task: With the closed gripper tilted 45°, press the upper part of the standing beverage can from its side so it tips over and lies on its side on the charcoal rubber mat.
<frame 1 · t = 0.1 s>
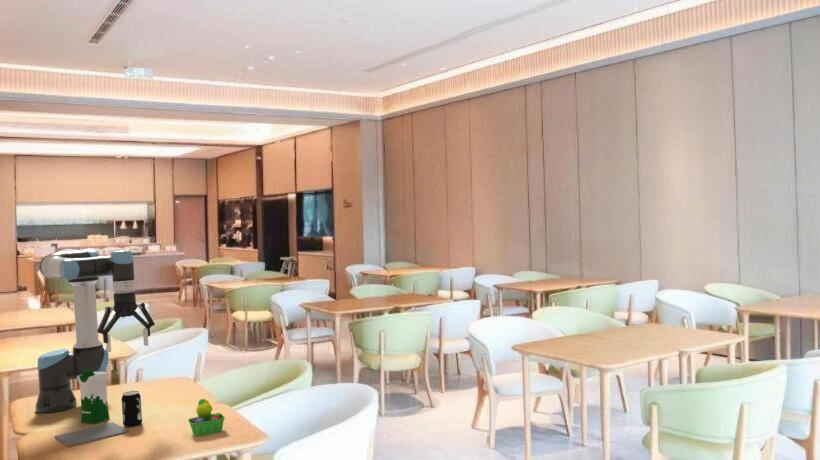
hand: (127, 348, 255), 28 cm above the table, tool pointing down, fingers open, 13 cm apart
fruit basket: (206, 432, 240), on the table
beverage can: (132, 425, 253), on the table
milk carton: (95, 421, 262), on the table
mat: (91, 434, 244), on the table
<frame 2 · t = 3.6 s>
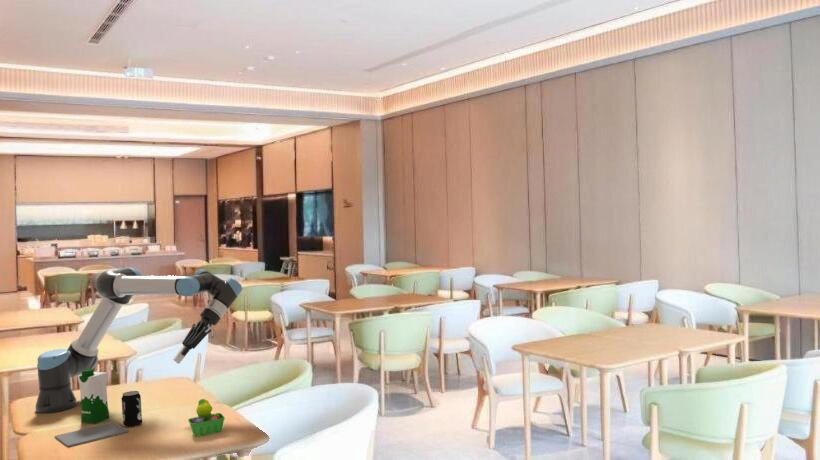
hand: (175, 361, 265), 20 cm above the table, tool tilted 45°, fingers closed
nothing on the table moved.
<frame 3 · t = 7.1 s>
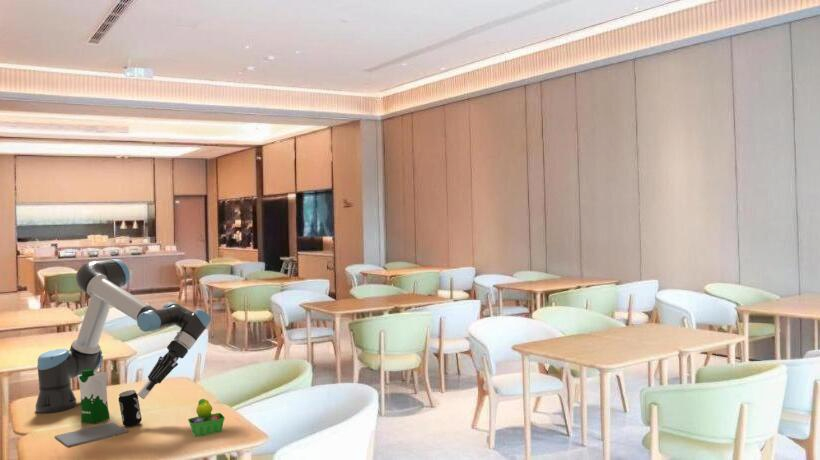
hand: (140, 396, 255), 10 cm above the table, tool tilted 45°, fingers closed
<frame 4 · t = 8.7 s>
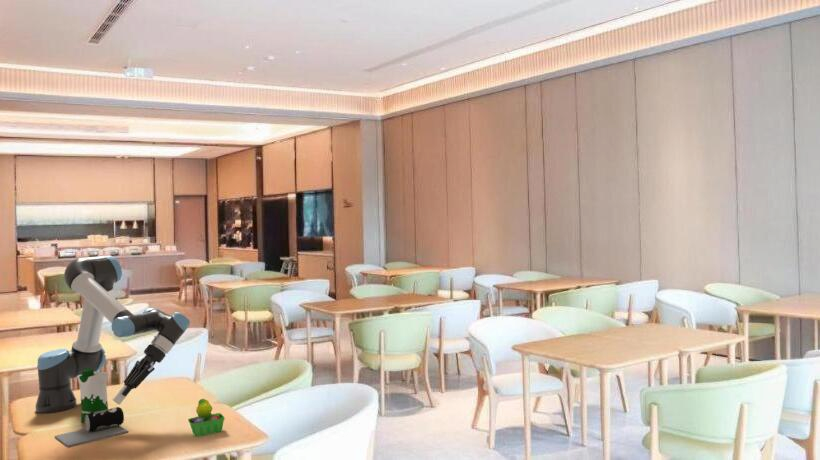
hand: (116, 402, 250), 10 cm above the table, tool tilted 45°, fingers closed
beverage can: (122, 415, 253), point 4 cm above the table, touching mat
everything else where it was.
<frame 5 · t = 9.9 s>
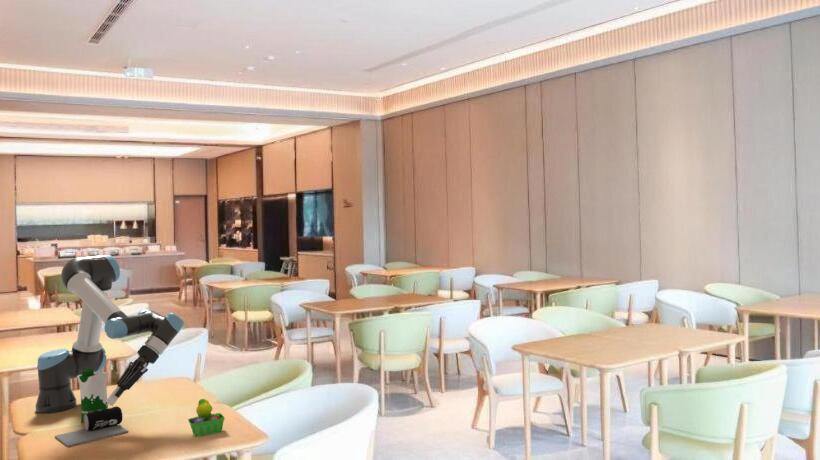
hand: (108, 403, 248), 10 cm above the table, tool tilted 45°, fingers closed
beverage can: (120, 414, 254), point 4 cm above the table, touching mat
everything else where it was.
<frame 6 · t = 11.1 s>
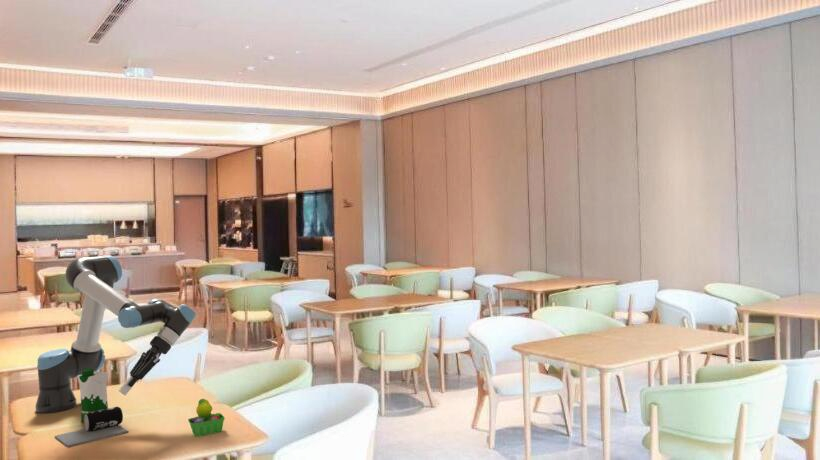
hand: (121, 393, 251), 12 cm above the table, tool tilted 45°, fingers closed
nothing on the table moved.
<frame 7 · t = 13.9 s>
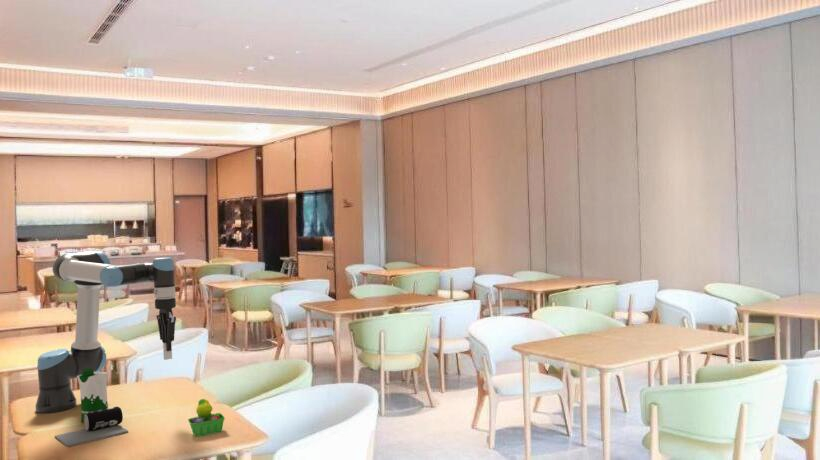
hand: (168, 358, 263), 22 cm above the table, tool pointing down, fingers closed
nothing on the table moved.
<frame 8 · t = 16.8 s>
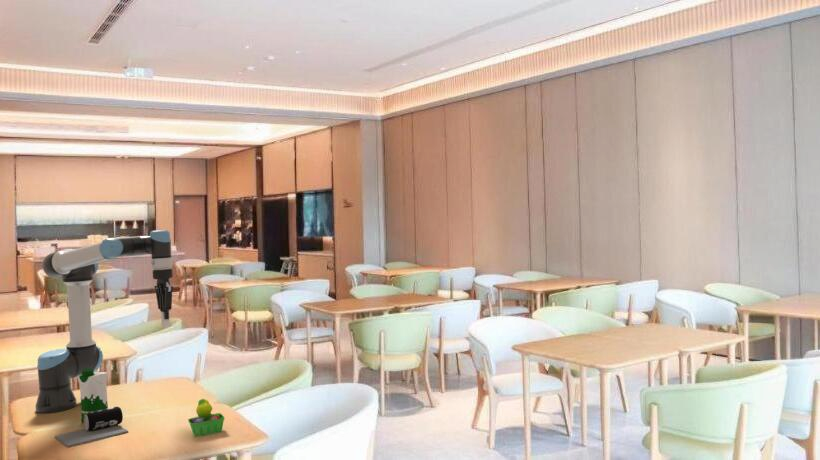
hand: (165, 327, 275), 32 cm above the table, tool pointing down, fingers closed
nothing on the table moved.
at the end: beverage can tilted 90°; beverage can inside the target area (3.7 cm from its centre), point 3.8 cm above the table; beverage can touching mat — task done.
